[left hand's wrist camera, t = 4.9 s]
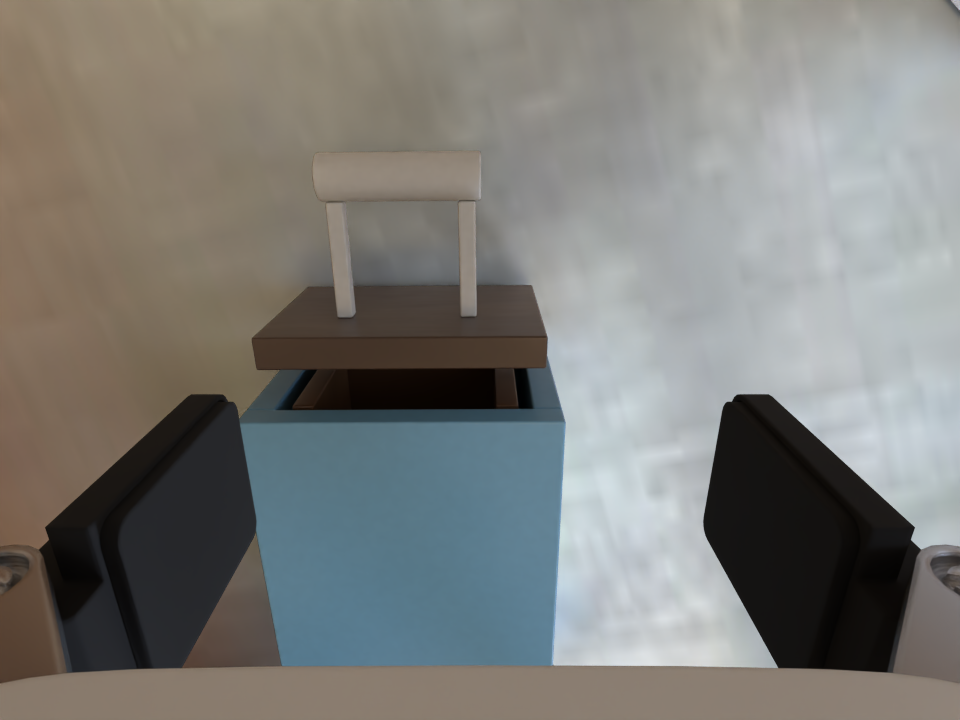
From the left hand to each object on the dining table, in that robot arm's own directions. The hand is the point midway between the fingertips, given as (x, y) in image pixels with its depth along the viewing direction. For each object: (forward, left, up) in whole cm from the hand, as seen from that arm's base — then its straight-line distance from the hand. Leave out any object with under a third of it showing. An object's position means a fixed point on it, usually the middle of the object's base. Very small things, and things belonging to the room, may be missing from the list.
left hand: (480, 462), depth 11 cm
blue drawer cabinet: (+12, -7, -17) cm, 22 cm away
